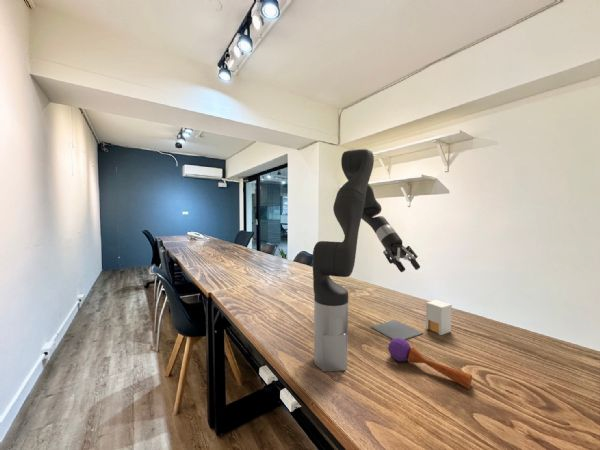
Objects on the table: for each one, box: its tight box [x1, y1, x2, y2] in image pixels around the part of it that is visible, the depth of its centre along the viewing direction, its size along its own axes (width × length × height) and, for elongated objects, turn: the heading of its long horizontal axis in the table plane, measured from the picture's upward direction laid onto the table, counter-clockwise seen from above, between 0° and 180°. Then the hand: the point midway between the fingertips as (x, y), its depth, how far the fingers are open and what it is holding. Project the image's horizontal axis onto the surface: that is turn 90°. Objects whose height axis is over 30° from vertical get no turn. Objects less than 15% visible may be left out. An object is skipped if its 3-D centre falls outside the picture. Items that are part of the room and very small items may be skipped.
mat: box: [370, 319, 423, 341], centre depth 90 cm, size 12×12×1 cm
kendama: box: [387, 338, 473, 390], centre depth 68 cm, size 6×6×20 cm
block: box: [428, 321, 439, 334], centre depth 90 cm, size 4×4×4 cm
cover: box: [425, 299, 453, 336], centre depth 90 cm, size 6×6×10 cm
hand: (411, 269), depth 100 cm, fingers open, 8 cm apart
